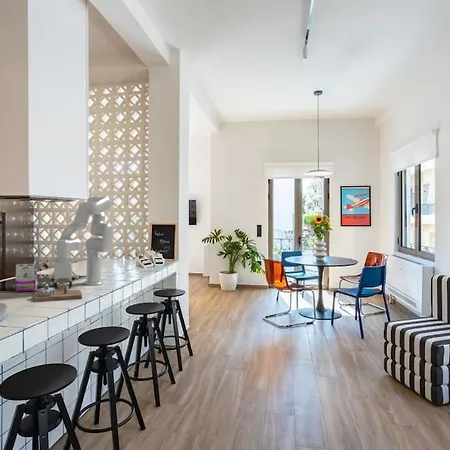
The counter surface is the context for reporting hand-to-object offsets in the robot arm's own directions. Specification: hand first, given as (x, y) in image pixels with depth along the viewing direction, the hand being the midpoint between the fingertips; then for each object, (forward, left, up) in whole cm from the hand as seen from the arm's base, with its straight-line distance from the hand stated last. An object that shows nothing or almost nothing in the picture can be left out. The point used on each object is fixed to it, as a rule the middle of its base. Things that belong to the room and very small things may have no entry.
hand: (63, 288), depth 222 cm
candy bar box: (-8, -20, -2) cm, 22 cm away
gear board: (+15, -2, -2) cm, 15 cm away
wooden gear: (0, 0, -1) cm, 1 cm away
